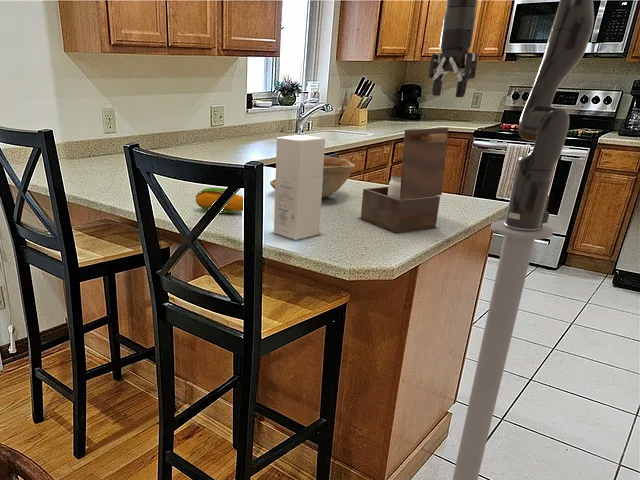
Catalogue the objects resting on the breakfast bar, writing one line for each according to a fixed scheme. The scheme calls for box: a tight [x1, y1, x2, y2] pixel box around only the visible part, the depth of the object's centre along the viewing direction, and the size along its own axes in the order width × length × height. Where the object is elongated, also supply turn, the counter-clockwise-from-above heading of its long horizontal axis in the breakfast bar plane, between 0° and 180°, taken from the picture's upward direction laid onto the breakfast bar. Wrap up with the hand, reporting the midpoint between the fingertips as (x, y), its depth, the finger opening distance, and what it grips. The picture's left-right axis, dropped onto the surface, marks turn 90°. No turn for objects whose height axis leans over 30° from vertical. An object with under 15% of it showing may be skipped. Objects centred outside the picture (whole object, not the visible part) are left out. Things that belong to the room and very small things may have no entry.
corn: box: [195, 187, 244, 214], centre depth 161 cm, size 7×8×20 cm
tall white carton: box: [273, 134, 326, 241], centre depth 137 cm, size 9×9×25 cm
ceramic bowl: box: [269, 155, 356, 199], centre depth 181 cm, size 30×27×15 cm
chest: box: [360, 185, 441, 234], centre depth 150 cm, size 17×14×9 cm
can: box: [388, 175, 408, 200], centre depth 149 cm, size 6×6×12 cm
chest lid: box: [400, 127, 449, 199], centre depth 136 cm, size 18×14×5 cm
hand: (447, 96), depth 140 cm, fingers open, 8 cm apart
